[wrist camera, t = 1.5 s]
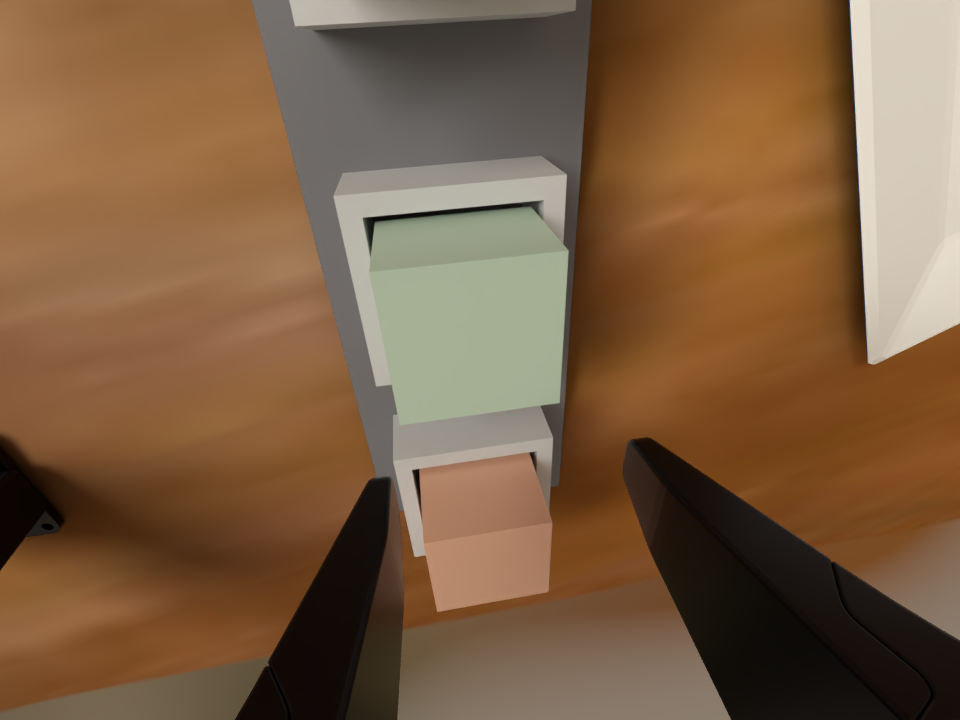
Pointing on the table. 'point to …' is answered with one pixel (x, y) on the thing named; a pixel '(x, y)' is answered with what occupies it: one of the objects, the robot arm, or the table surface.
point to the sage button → (470, 311)
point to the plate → (907, 167)
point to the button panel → (430, 174)
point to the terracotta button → (485, 531)
